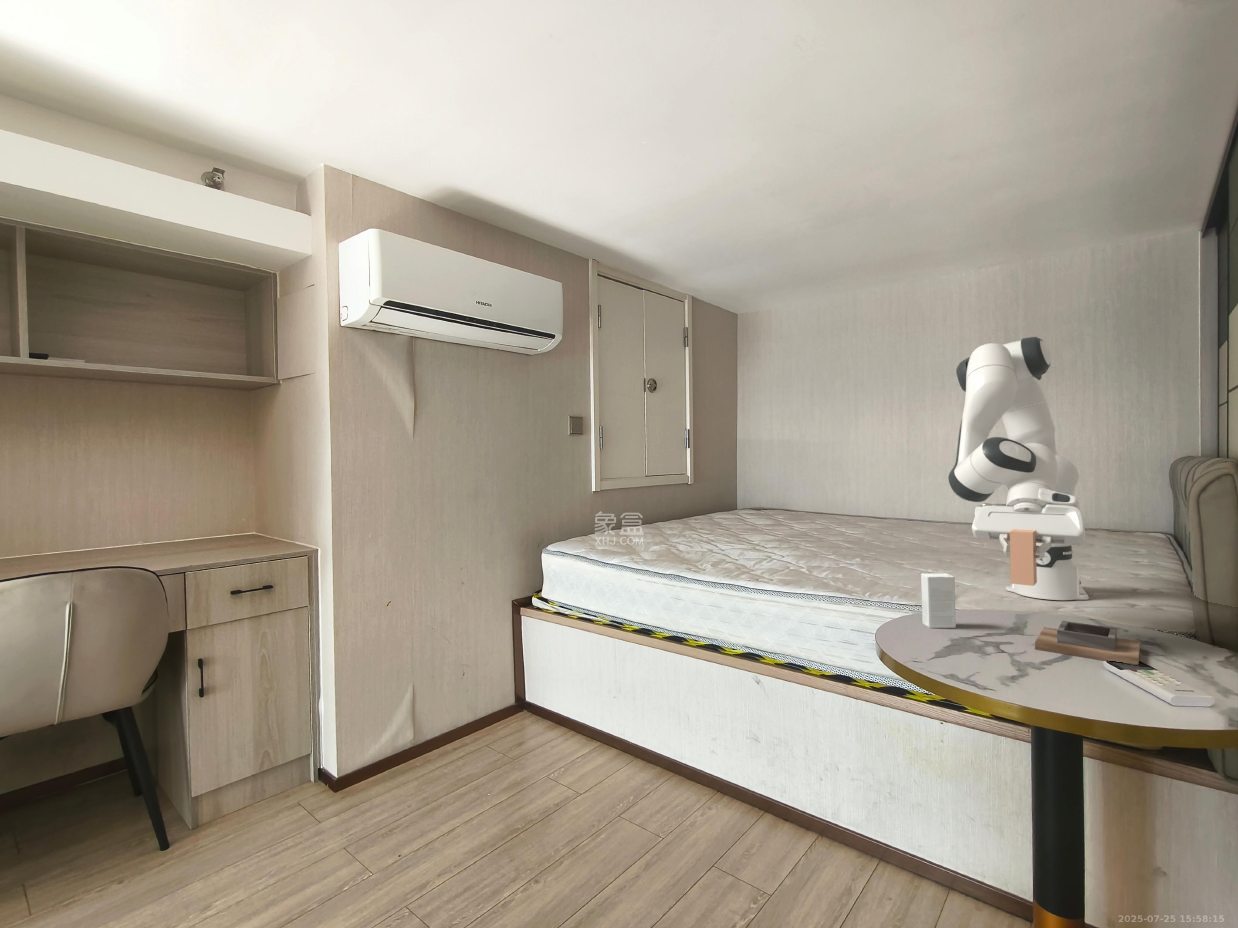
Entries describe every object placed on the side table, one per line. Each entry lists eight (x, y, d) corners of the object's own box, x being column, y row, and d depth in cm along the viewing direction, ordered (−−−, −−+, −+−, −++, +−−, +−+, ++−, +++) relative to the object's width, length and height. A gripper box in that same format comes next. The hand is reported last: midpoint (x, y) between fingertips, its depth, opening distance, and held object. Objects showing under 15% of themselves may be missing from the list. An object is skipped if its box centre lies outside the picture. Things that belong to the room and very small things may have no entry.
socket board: (1044, 633, 133) (1043, 615, 132) (1139, 648, 122) (1139, 628, 122) (1035, 648, 123) (1034, 629, 123) (1138, 666, 112) (1138, 645, 112)
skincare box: (947, 623, 142) (947, 572, 142) (956, 628, 138) (955, 576, 138) (921, 623, 143) (920, 572, 143) (928, 628, 139) (927, 576, 138)
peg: (1014, 580, 129) (1013, 529, 129) (1036, 582, 126) (1035, 530, 126) (1010, 583, 126) (1009, 531, 126) (1033, 585, 123) (1032, 532, 123)
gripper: (973, 494, 138) (964, 542, 131) (1086, 496, 124) (1082, 550, 117) (978, 512, 142) (969, 559, 134) (1088, 516, 128) (1084, 569, 121)
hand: (1023, 555), depth 126 cm, fingers closed on peg, 4 cm apart
